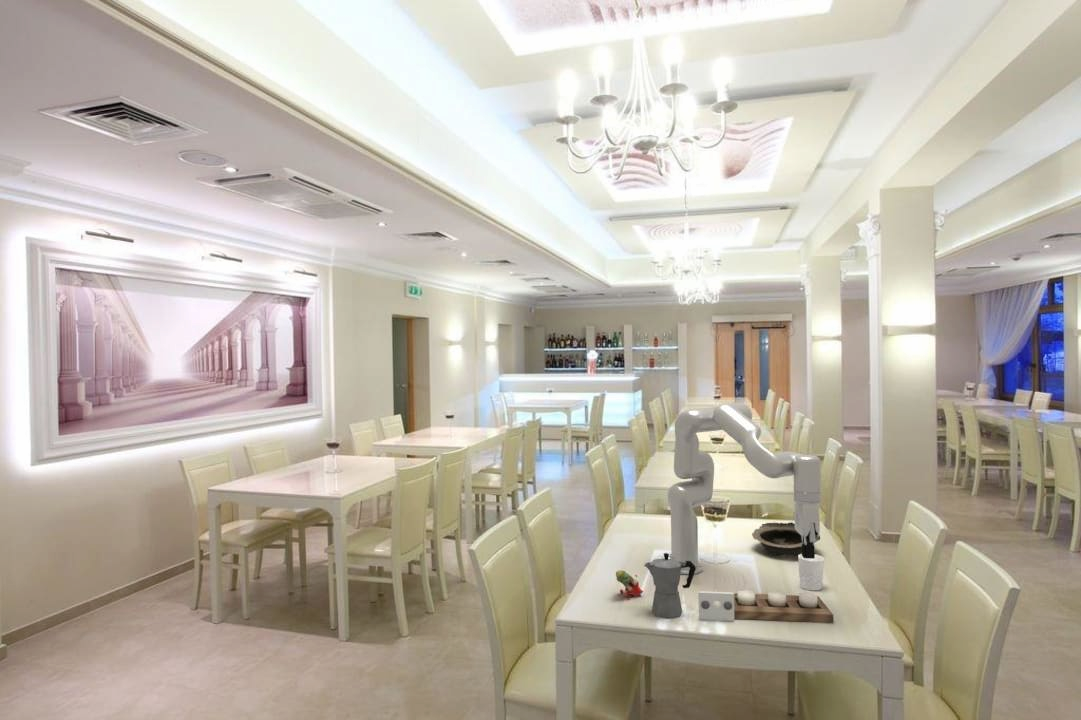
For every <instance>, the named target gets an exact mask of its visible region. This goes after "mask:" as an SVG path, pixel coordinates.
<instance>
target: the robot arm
mask: <svg viewBox="0 0 1081 720" xmlns="http://www.w3.org/2000/svg"><path fill="white" fill-rule="evenodd" d="M717 431H724V432H725V433H726V434H727V435H728V436H729V437H730V438H732V440H734V441H735V442H737V443H738V444H739V445H740V446H741V448H742V453H743V455H744V457H745V459H746V460H747V462H748V463H749V464H750V465H751V466H752V467H753V468H755V470H757V471H758V472H759V473H760V474H762V475H763V476H765V477H767V478H769V479H780V478H784V477H790V476H793V501H794V502H795V505H794V524H795V530H796V531H797V532H798V533H799V534H800V535H801V537H802V552H801V554H802V556H803V557H804V558H811V559H814V558H815V555H816V554H815V553H816V552H815V551H816V550H815V549H816V548H815V546H816V545H815V543H816V542H815V536H816V537H818V536H819V535H820V531H821V530H820V524H821V523H820V510H819V504H821V503H822V488H821V487H822V484H821V483H822V480H821V459H820V457H818V456H817V455H813V454H802V453H799V452H795V451H792V450H790V451H789V450H788V451H779V452H774V453H772V452H771V451H769V449H767V448H766V447H764V446H763V445H762V444H761V443H760V442H759V439H760V437H761V434H762V429H761V427H760V426H759V425H758V424H757V423H756V422H754V421H753V412H752V409H751V408H750V407H749V406H748V405H747V404H745V403H743V402H726V403H721V404H719V405H716V406H713V407H698V408H693V409H692V408H690V409H686V410H684V411H681V412H680V413H679V414H678V415H677V416H676V418H675V422H674V437H675V439H674V441H675V442H674V452H673V453H674V455H673V458H674V459H673V472H674V474H675V476H676V477H677V478H679V479H681V480H684V481H680V482H676V483H674V484H672V485H671V486H670V488H669V489H668V491H667V500H668V504H669V511H670V546H671V547H670V549H671V550H670V551H671V552H670V554H669V557H668V559H674V560H677V561H691V562H692V563H693V564H694V565H695V567H696V570H695V573H694V575H696V574H700V573H702V572H703V569H704V568H703V565H702V564H701V563H699V539H698V537H699V534H698V533H699V531H698V529H699V527H698V524H699V523H698V522H699V521H698V517H697V515H696V513H695V511H694V508H695V507H700V506H704V505H707V504H709V502H711V500H712V497H713V491H714V478H715V463H714V460H713V457H712V456H711V455H710V454H709V453H708V452H706V451H704V450H699V449H700V440H699V437H698V435H697V433H708V432H717ZM689 479H690V480H689ZM662 558H664V556H658V559H662ZM689 570H690V567H685V568H681V573H680V575H689Z"/></svg>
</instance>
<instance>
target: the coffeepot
mask: <svg viewBox="0 0 1081 720" xmlns="http://www.w3.org/2000/svg"><path fill="white" fill-rule="evenodd" d="M669 556H670V554H669V553H667V552H665V553H663V557H664V558H662V559H659V558H657V559H656V558H655V559H653V560H651V561H649V562H646V563H644V567H646V568H647V570H648V571H649V573H650V575H651V577H652V581H653V585H654V586H655V590H654V593H653V594H654V595H653V601H652V607H651V613H652V614H653V615H654V616H656V617H658V618H662V619H676V618H679V617H681V616H682V613H683V608H682V607H683V606H682V603H681V597H680V592H679V588H678V587H679V586H680V579H681V574H680V573H681V568H685V567H690V570H689V574H687V575H688V576H687V578H686V584H682V586H681V587H682V588H683V589H689V588H690V587H691V585H692V582H693V578H694V576H695V574H694V573H695V570H696V567H695V565H694V564H693V563H692V562H691V561H677V560H674V559H668V557H669Z"/></svg>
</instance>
